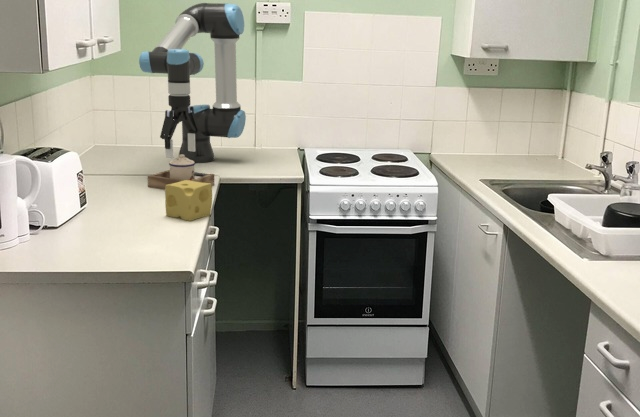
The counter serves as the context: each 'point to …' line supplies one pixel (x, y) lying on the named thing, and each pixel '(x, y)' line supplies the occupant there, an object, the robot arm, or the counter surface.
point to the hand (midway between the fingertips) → (180, 154)
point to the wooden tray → (164, 179)
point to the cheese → (188, 199)
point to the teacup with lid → (182, 168)
